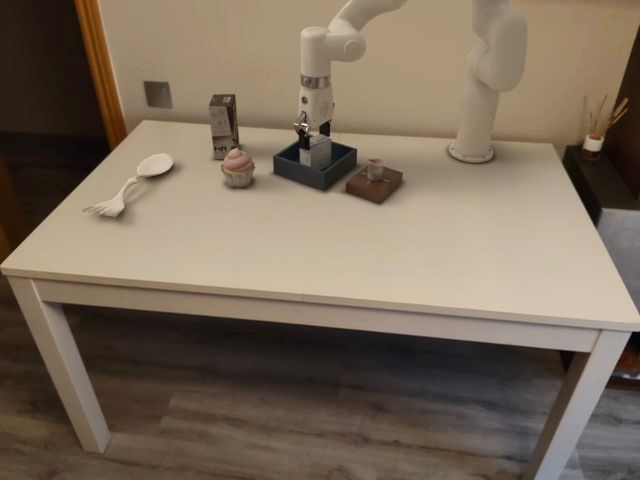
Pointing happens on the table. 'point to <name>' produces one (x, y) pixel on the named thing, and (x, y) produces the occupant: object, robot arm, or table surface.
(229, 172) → the cupcake
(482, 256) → the table surface
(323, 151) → the medicine box
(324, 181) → the open box
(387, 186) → the panel
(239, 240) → the table surface
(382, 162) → the tap knob
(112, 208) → the spoon
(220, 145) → the coffee box
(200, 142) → the table surface
